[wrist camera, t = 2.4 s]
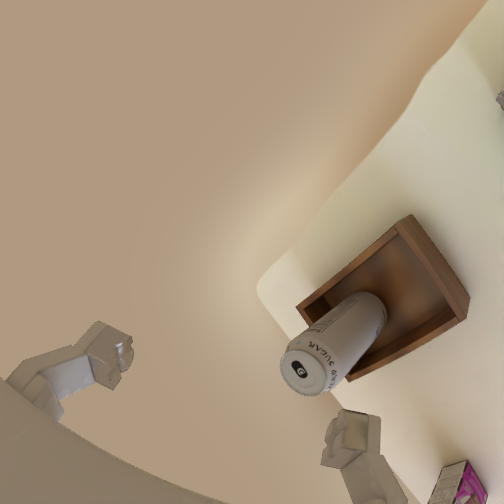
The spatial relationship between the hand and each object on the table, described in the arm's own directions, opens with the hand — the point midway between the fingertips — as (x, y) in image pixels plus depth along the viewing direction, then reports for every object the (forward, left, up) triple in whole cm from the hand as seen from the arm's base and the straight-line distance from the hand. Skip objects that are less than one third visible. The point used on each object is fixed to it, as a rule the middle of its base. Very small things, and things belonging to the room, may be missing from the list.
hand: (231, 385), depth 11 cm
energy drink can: (+11, +3, -29) cm, 31 cm away
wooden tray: (+7, +3, -29) cm, 30 cm away
